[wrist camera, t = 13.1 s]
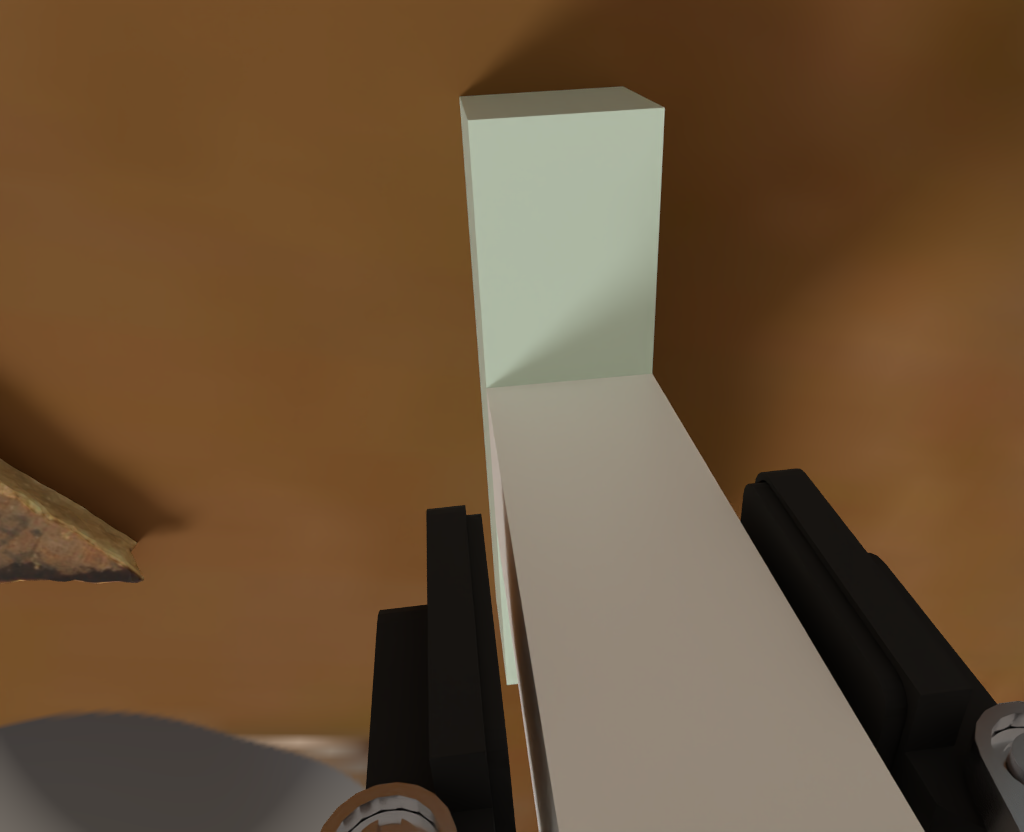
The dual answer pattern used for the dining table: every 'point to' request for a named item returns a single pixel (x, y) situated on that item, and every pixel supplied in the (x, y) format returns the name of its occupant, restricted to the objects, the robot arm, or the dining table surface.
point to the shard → (57, 537)
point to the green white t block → (629, 514)
